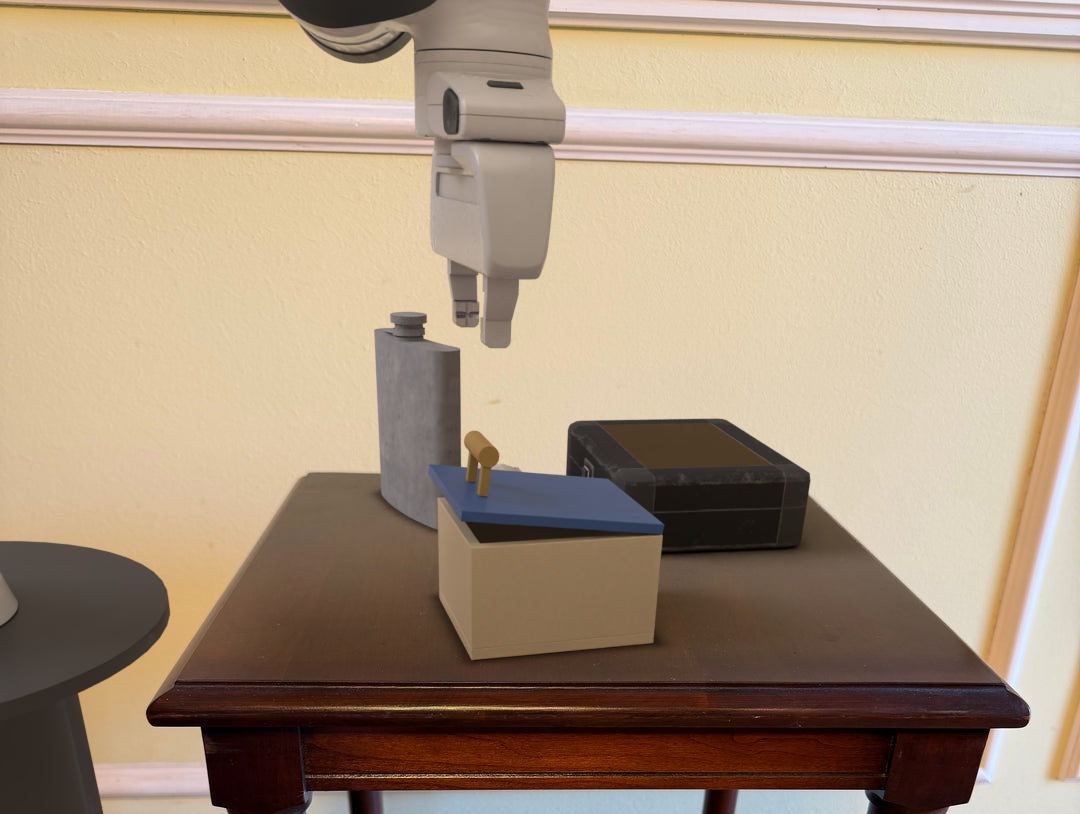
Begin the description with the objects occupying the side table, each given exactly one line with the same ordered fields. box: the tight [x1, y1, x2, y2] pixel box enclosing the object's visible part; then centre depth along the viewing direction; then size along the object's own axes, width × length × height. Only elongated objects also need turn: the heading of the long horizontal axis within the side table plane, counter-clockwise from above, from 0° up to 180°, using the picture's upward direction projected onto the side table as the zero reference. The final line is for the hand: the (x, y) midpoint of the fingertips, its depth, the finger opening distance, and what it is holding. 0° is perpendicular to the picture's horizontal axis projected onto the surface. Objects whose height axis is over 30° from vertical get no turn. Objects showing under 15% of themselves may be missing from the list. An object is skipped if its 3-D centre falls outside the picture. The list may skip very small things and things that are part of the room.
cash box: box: [565, 418, 811, 554], centre depth 109 cm, size 25×20×8 cm
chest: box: [437, 497, 663, 661], centre depth 83 cm, size 15×13×9 cm
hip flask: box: [373, 311, 462, 531], centre depth 106 cm, size 16×4×20 cm, turn 31°
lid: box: [428, 430, 664, 534], centre depth 79 cm, size 16×13×5 cm
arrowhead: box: [478, 463, 523, 472], centre depth 121 cm, size 7×2×10 cm
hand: (479, 336), depth 73 cm, fingers open, 8 cm apart
